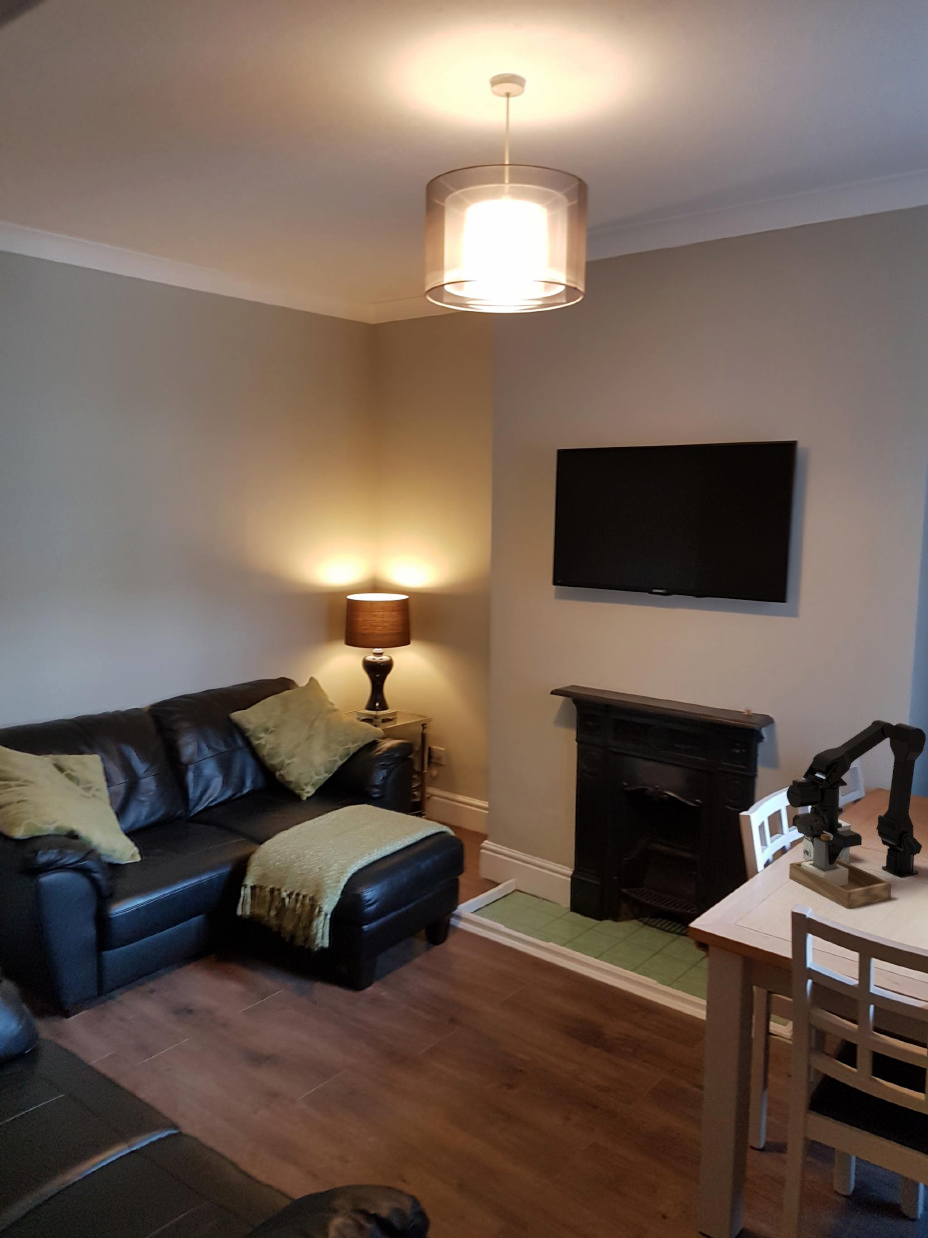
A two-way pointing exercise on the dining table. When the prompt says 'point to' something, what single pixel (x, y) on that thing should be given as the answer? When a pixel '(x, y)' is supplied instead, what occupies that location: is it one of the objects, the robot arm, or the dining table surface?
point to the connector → (822, 854)
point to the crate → (853, 894)
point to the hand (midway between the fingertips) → (825, 861)
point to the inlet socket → (829, 873)
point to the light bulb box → (845, 826)
